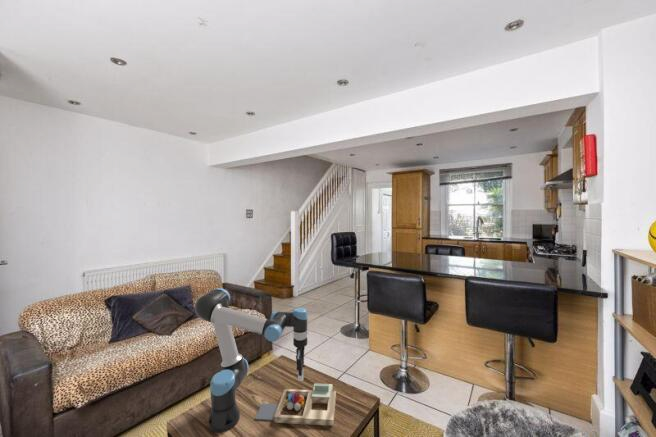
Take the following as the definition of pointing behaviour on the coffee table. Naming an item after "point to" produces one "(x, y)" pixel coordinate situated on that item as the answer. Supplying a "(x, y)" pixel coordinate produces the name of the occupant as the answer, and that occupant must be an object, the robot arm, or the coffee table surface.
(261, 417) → the mat
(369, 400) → the coffee table surface
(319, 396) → the lid
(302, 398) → the rainbow toy vehicle
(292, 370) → the coffee table surface
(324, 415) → the board
